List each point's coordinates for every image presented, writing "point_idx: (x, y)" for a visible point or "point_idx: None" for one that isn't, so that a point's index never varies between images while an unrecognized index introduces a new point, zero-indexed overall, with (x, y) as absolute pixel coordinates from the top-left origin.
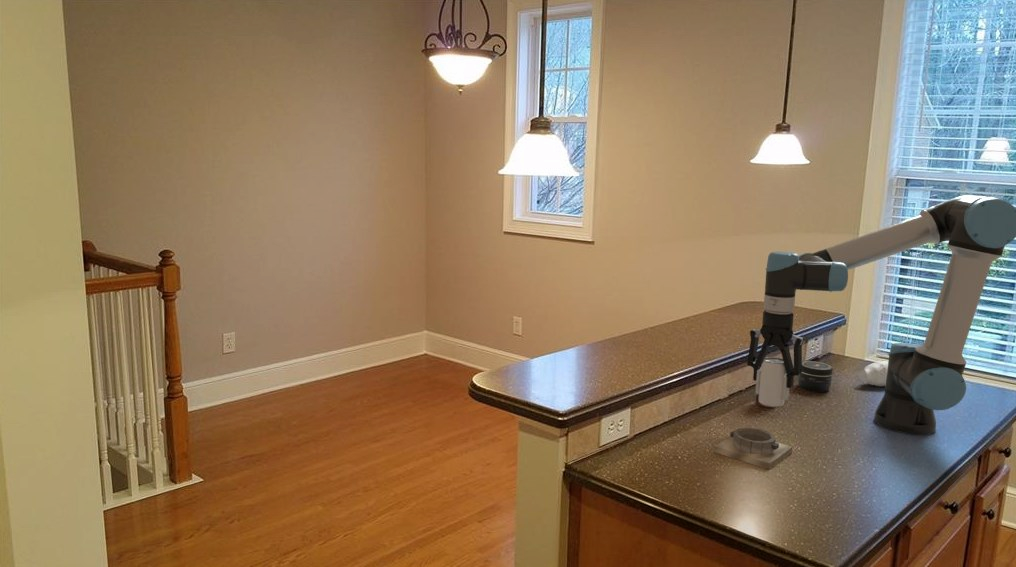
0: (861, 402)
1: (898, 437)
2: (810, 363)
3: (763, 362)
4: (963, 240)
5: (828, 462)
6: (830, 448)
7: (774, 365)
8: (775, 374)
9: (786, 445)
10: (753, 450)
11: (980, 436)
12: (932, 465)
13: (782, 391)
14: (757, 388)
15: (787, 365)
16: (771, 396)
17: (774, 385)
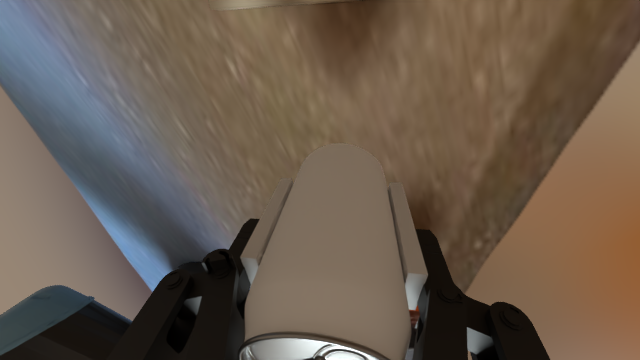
0: None
1: (185, 246)
2: None
3: (392, 339)
4: None
5: (134, 25)
6: (197, 127)
7: (282, 312)
8: (284, 246)
9: (226, 5)
10: None
11: (152, 291)
12: (81, 174)
13: (281, 199)
14: (397, 197)
15: (204, 331)
16: (319, 163)
17: (301, 197)
